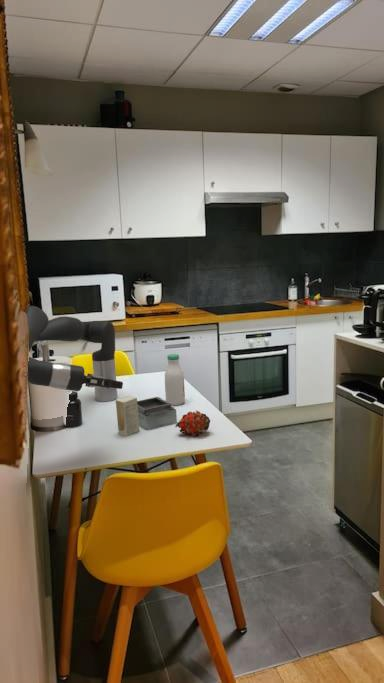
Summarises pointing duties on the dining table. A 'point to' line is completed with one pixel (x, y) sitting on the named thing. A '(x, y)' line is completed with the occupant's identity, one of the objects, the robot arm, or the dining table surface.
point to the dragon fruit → (193, 423)
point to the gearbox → (155, 413)
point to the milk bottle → (174, 381)
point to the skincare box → (127, 415)
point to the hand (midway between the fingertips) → (117, 384)
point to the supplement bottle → (74, 411)
